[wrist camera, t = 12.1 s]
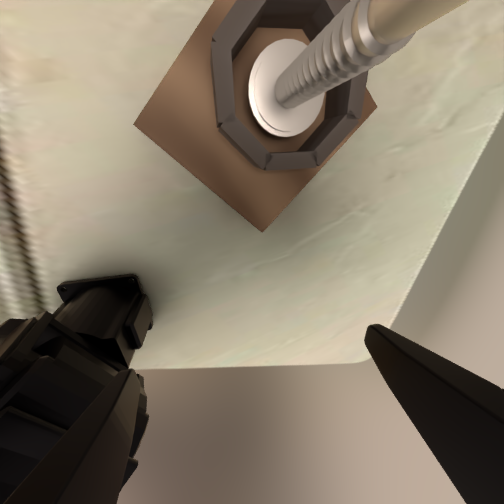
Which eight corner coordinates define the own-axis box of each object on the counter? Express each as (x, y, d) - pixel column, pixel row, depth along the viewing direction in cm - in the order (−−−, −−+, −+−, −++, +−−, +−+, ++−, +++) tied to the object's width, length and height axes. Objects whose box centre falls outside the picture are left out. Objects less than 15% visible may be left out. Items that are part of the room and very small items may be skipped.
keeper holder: (259, 228, 20) (271, 246, 16) (138, 126, 15) (115, 118, 11) (367, 109, 17) (410, 98, 14) (263, -62, 12) (286, -154, 9)
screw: (259, 150, 16) (231, 74, 14) (318, 120, 16) (299, 39, 14) (393, 146, 4) (350, -332, 2) (610, 40, 4) (796, -575, 2)
